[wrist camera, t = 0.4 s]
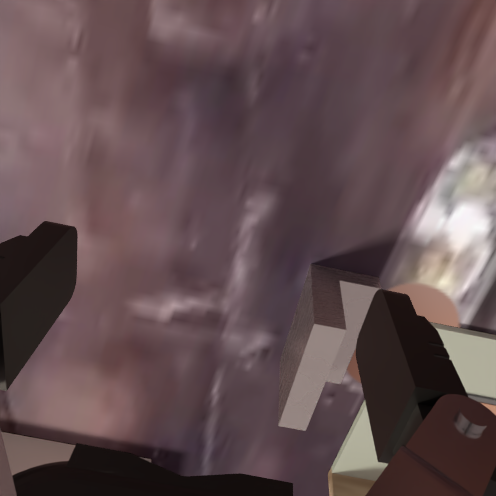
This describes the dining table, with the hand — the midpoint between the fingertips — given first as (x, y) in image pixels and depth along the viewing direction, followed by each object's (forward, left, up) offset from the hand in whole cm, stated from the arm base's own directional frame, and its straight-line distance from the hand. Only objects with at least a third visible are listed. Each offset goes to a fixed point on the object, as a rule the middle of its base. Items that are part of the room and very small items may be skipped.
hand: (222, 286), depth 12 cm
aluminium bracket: (+15, +8, -18) cm, 25 cm away
